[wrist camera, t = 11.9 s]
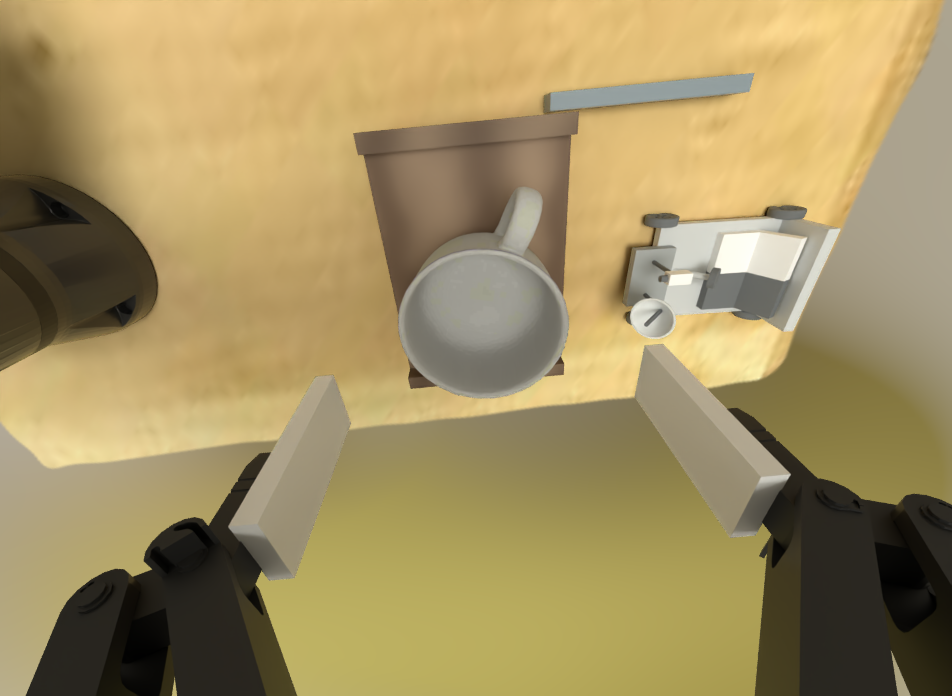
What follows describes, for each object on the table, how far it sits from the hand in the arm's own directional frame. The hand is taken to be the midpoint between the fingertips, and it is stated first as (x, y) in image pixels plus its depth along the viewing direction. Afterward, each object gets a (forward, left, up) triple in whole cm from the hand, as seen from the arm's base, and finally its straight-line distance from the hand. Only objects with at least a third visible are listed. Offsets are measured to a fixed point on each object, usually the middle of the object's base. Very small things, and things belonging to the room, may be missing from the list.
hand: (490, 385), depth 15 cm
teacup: (+1, 0, -15) cm, 15 cm away
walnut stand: (0, 0, -24) cm, 24 cm away
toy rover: (+23, -5, -25) cm, 34 cm away
